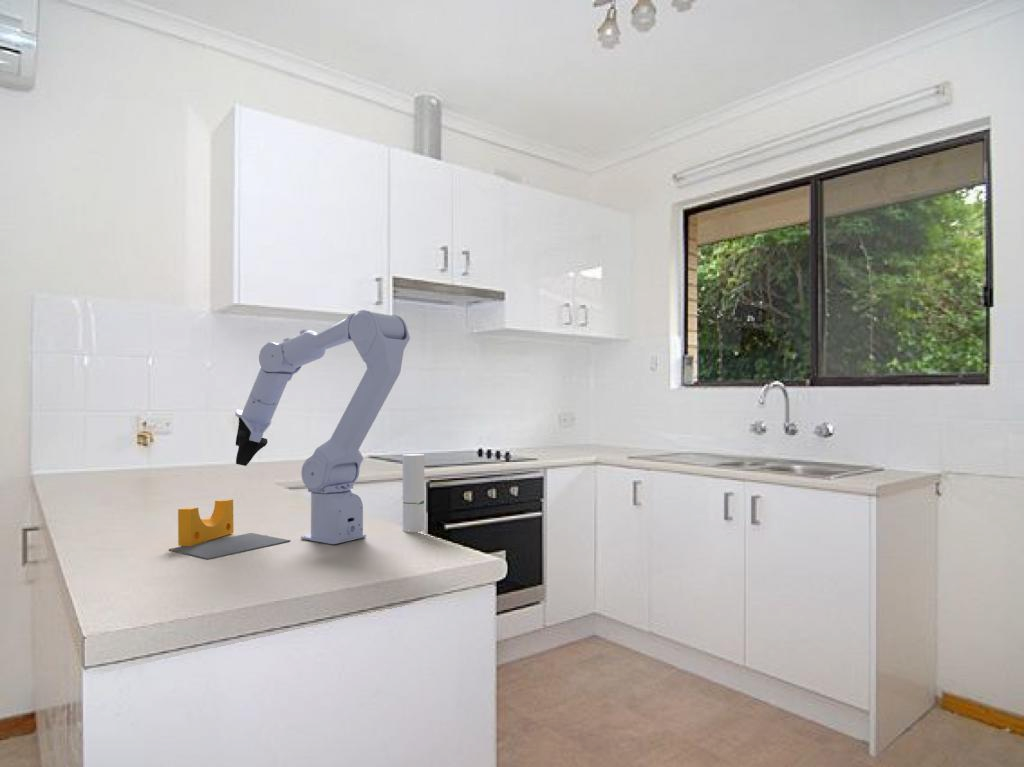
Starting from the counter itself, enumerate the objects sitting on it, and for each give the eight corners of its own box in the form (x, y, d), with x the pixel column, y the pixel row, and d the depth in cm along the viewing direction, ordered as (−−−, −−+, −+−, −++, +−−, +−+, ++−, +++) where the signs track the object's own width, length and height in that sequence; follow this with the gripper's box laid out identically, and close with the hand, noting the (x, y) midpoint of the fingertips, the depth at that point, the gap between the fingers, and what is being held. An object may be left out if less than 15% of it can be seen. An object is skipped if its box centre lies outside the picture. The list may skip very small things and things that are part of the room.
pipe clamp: (213, 532, 127) (213, 499, 127) (233, 532, 126) (233, 499, 126) (169, 545, 115) (169, 509, 115) (191, 546, 114) (190, 509, 114)
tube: (406, 533, 126) (406, 455, 126) (399, 529, 129) (399, 454, 130) (427, 531, 128) (427, 454, 128) (420, 527, 131) (420, 453, 132)
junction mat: (290, 541, 119) (290, 540, 119) (207, 559, 105) (207, 558, 105) (251, 533, 125) (251, 532, 125) (168, 550, 112) (168, 548, 112)
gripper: (243, 378, 135) (221, 433, 138) (244, 408, 122) (220, 468, 125) (277, 387, 138) (254, 441, 141) (281, 418, 126) (256, 476, 129)
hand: (240, 454), depth 133 cm, fingers open, 7 cm apart
